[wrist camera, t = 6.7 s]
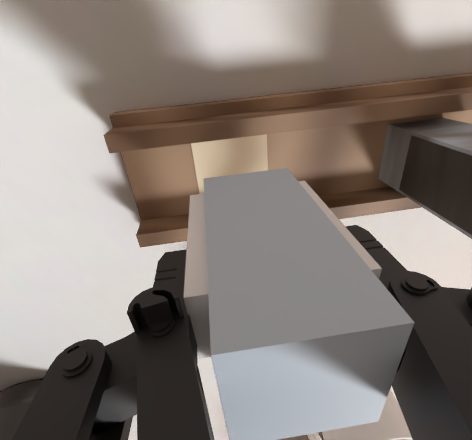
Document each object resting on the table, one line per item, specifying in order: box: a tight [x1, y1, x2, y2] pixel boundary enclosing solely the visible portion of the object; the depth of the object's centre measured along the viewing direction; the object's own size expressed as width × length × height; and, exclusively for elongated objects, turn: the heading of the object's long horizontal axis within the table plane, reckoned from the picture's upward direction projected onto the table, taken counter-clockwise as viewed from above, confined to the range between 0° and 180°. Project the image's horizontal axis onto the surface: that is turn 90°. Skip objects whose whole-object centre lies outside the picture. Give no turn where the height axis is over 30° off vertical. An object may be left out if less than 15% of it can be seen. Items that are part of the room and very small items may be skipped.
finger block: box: [204, 168, 414, 440], centre depth 10 cm, size 4×4×9 cm
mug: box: [307, 390, 413, 440], centre depth 26 cm, size 10×7×12 cm, turn 153°
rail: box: [104, 73, 472, 247], centre depth 16 cm, size 26×9×10 cm, turn 95°
